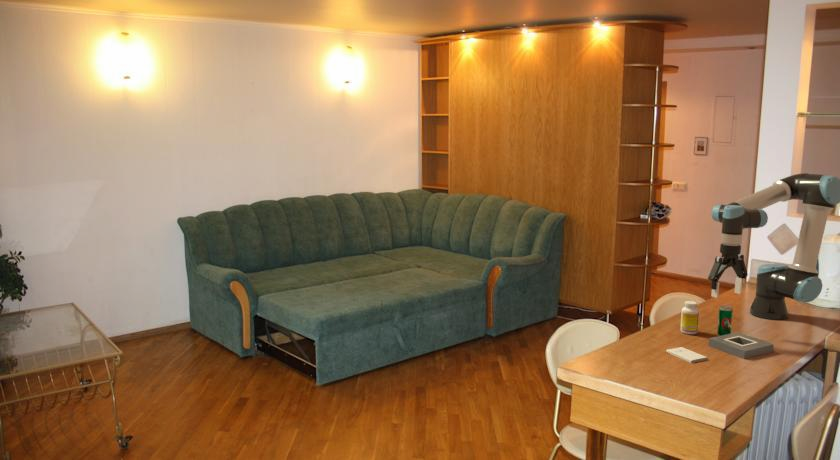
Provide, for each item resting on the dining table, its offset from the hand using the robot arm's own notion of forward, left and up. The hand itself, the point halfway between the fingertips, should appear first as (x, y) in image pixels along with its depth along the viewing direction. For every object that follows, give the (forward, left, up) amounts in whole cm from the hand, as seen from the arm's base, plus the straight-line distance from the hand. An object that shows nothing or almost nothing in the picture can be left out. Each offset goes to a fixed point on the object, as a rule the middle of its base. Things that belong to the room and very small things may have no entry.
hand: (726, 295), depth 266 cm
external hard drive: (+32, +10, -18) cm, 38 cm away
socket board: (+8, +14, -17) cm, 23 cm away
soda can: (0, 0, -17) cm, 17 cm away
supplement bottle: (+10, -9, -17) cm, 22 cm away
